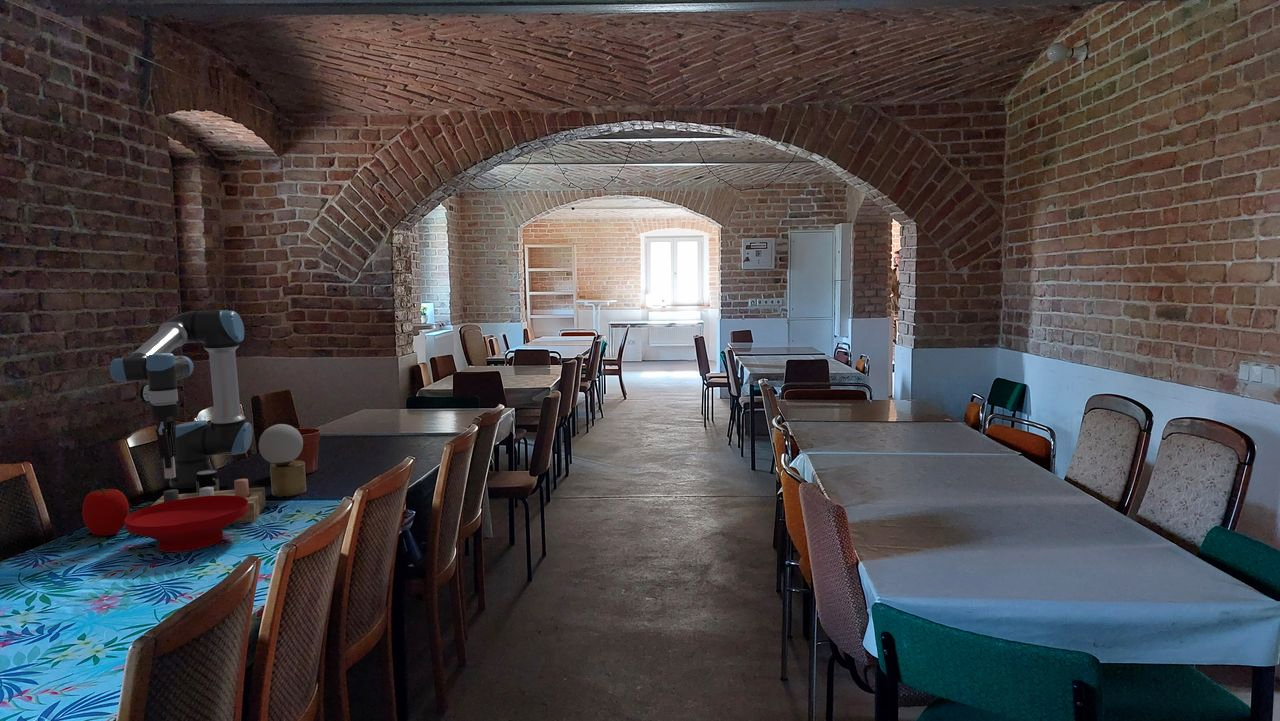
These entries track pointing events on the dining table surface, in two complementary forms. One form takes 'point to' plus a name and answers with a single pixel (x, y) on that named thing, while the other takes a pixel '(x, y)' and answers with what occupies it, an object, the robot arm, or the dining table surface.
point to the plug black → (170, 495)
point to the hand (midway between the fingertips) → (170, 477)
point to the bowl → (187, 521)
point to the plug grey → (206, 491)
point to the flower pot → (309, 448)
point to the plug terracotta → (241, 488)
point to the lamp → (284, 459)
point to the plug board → (254, 500)
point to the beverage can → (207, 480)
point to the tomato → (105, 511)
